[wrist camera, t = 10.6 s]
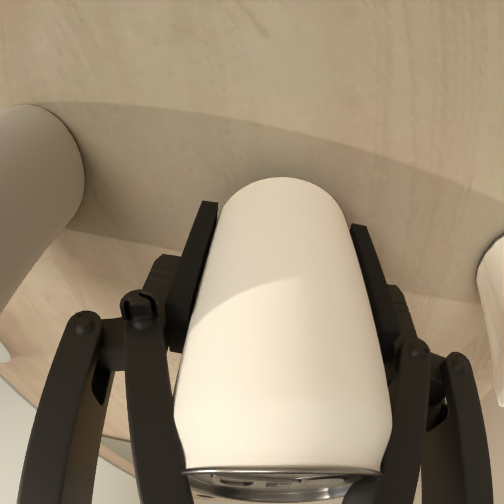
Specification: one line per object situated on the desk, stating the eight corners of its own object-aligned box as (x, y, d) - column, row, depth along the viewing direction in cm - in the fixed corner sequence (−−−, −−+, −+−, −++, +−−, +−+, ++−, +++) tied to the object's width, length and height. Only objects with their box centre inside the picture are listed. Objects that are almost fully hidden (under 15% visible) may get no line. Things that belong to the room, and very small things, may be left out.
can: (331, 283, 18) (354, 500, 9) (218, 274, 18) (177, 494, 9) (357, 179, 14) (449, 451, 5) (216, 168, 14) (123, 447, 5)
